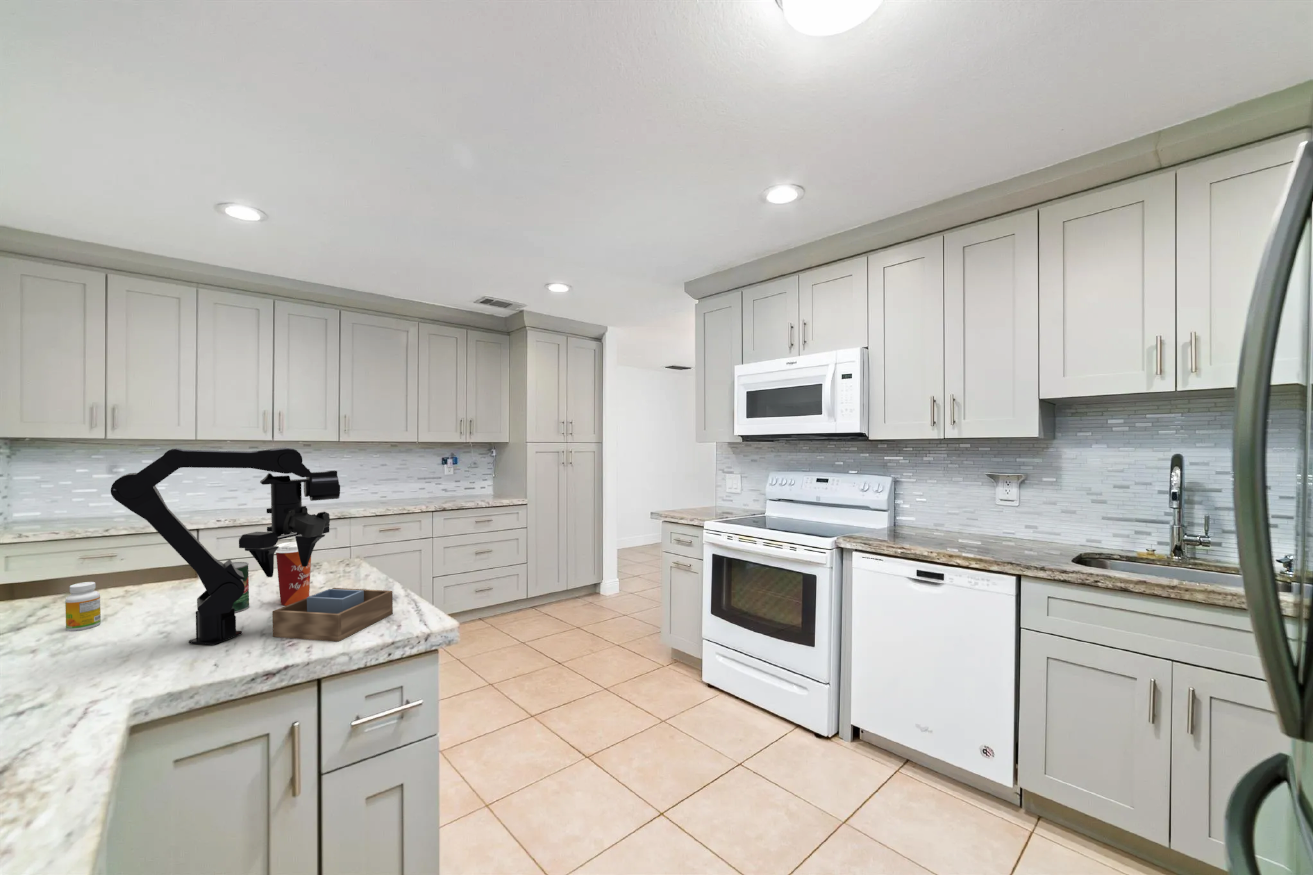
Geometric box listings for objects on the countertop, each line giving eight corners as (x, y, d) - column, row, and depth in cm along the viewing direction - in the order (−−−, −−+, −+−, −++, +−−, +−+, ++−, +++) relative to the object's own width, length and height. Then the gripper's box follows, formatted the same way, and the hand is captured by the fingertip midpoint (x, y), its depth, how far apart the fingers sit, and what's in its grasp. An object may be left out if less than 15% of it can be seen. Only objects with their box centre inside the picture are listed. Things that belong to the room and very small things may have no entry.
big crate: (272, 636, 115) (272, 611, 114) (334, 610, 131) (333, 587, 131) (338, 641, 112) (338, 615, 112) (392, 613, 128) (392, 590, 128)
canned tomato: (214, 607, 134) (213, 563, 134) (253, 603, 137) (252, 560, 137) (203, 617, 127) (202, 571, 127) (244, 612, 130) (243, 567, 130)
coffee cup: (299, 607, 134) (298, 547, 133) (267, 607, 134) (266, 547, 134) (321, 596, 142) (320, 540, 142) (290, 596, 142) (289, 540, 142)
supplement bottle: (61, 629, 120) (60, 585, 120) (95, 621, 125) (94, 579, 125) (71, 633, 118) (69, 589, 117) (104, 625, 122) (103, 582, 122)
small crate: (307, 624, 119) (306, 597, 119) (330, 614, 125) (329, 588, 125) (342, 626, 117) (342, 599, 117) (364, 616, 124) (363, 590, 124)
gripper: (281, 509, 111) (282, 585, 111) (348, 498, 129) (349, 562, 130) (235, 508, 113) (237, 582, 113) (308, 497, 131) (309, 561, 132)
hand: (287, 571), depth 122 cm, fingers open, 9 cm apart
